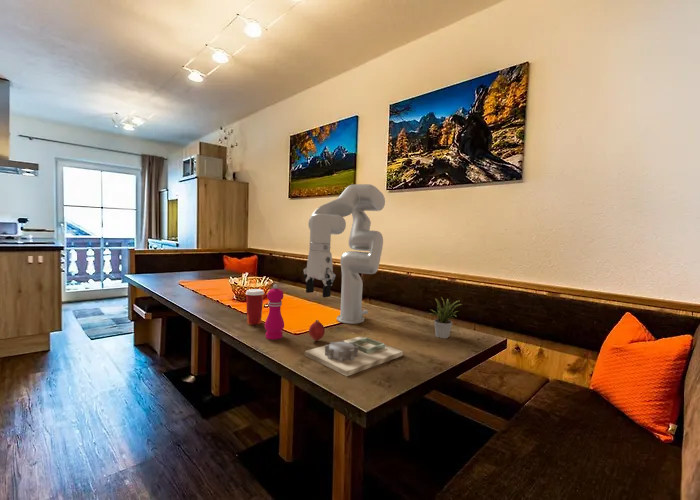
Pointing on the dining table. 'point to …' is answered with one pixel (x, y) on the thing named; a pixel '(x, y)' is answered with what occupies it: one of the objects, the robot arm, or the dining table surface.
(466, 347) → the dining table surface
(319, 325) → the onion
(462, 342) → the dining table surface
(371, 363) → the gear board
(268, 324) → the pepper mill
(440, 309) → the house plant
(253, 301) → the paper cup
